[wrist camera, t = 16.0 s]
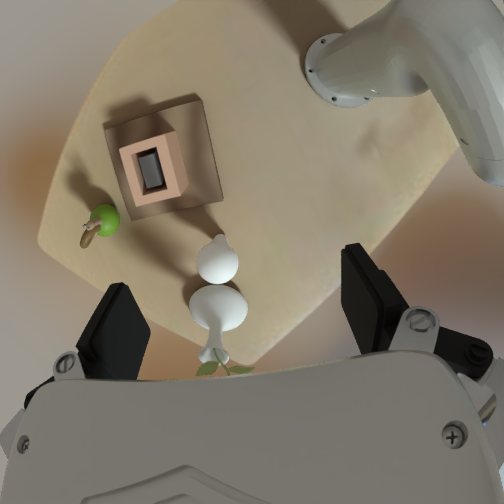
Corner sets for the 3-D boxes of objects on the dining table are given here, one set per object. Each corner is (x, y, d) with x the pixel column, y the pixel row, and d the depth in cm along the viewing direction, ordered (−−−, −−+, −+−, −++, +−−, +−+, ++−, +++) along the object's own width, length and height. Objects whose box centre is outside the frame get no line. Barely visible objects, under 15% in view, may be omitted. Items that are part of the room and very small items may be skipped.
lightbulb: (196, 231, 46) (184, 266, 37) (227, 215, 45) (223, 247, 36) (214, 259, 49) (208, 298, 40) (245, 245, 48) (245, 282, 38)
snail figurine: (131, 206, 44) (101, 237, 33) (117, 233, 46) (88, 269, 35) (107, 189, 42) (71, 216, 31) (94, 217, 44) (60, 249, 34)
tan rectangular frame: (175, 130, 37) (164, 134, 31) (188, 184, 41) (180, 195, 36) (134, 142, 37) (118, 148, 32) (148, 193, 41) (136, 206, 36)
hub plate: (202, 100, 36) (194, 98, 30) (223, 197, 44) (220, 213, 38) (108, 129, 37) (87, 134, 31) (134, 217, 45) (119, 235, 39)
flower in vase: (186, 317, 56) (165, 424, 34) (194, 273, 50) (168, 389, 29) (247, 329, 58) (250, 436, 36) (262, 288, 52) (274, 404, 31)
